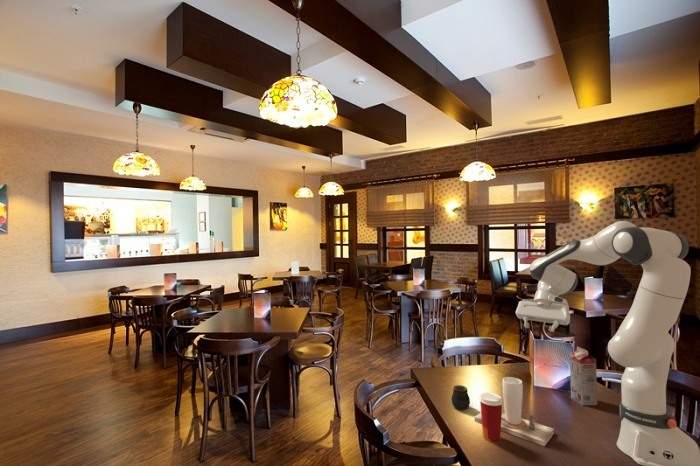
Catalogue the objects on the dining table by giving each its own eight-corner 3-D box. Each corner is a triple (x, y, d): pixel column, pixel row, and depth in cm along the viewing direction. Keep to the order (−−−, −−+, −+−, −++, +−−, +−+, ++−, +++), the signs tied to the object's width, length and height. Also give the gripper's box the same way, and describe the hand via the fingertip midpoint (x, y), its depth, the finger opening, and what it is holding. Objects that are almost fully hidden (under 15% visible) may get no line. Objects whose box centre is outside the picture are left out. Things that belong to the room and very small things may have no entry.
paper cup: (507, 437, 123) (506, 396, 123) (498, 446, 118) (497, 403, 118) (485, 428, 129) (484, 389, 129) (475, 437, 123) (474, 396, 124)
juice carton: (581, 405, 146) (580, 351, 146) (570, 398, 153) (569, 346, 153) (597, 404, 146) (595, 350, 147) (586, 397, 153) (584, 346, 153)
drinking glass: (525, 427, 126) (524, 384, 126) (505, 425, 127) (504, 383, 128) (520, 418, 133) (520, 377, 133) (501, 416, 134) (500, 376, 134)
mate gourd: (472, 406, 146) (471, 381, 147) (467, 413, 140) (466, 388, 140) (454, 401, 150) (454, 378, 150) (449, 409, 144) (448, 384, 144)
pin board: (554, 433, 125) (553, 416, 125) (544, 446, 118) (544, 428, 118) (487, 410, 142) (486, 395, 142) (474, 421, 134) (474, 405, 134)
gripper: (518, 294, 159) (510, 320, 152) (570, 300, 145) (564, 328, 138) (521, 303, 162) (514, 329, 155) (573, 309, 148) (567, 337, 141)
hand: (538, 329), depth 146 cm, fingers open, 8 cm apart
